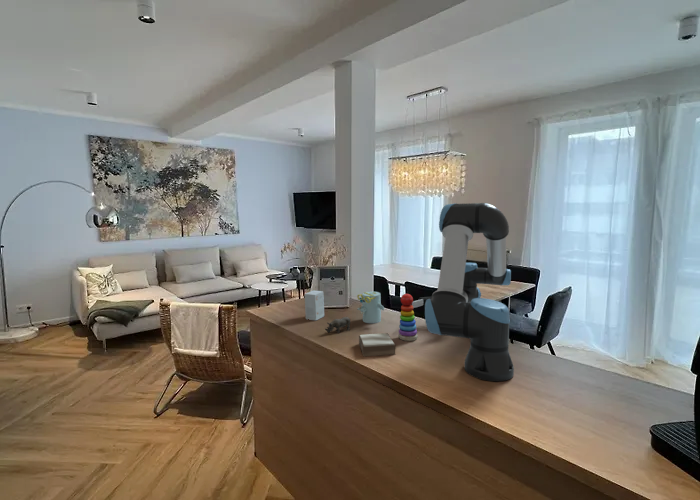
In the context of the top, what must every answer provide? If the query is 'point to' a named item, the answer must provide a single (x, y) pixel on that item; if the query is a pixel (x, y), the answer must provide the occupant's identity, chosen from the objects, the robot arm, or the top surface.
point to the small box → (314, 305)
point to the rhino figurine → (339, 324)
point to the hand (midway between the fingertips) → (424, 308)
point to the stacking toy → (407, 319)
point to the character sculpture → (371, 307)
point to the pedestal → (376, 344)
